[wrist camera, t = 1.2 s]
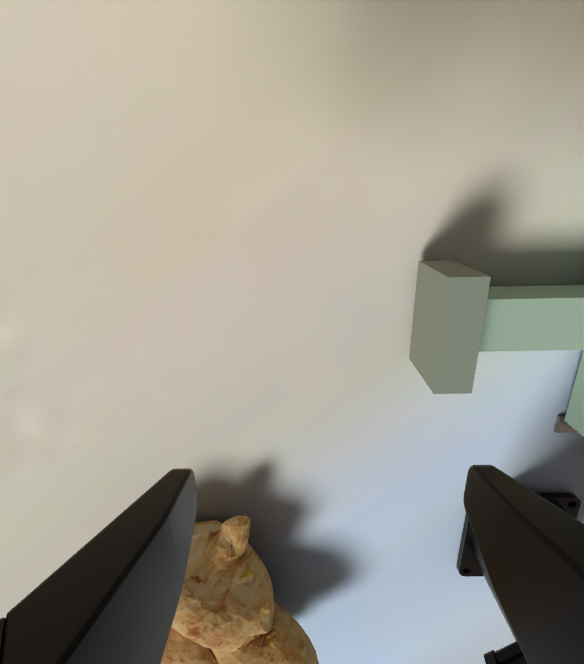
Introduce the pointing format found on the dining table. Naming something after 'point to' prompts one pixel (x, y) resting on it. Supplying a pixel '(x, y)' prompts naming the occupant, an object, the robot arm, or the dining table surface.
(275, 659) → the ginger root
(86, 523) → the dining table surface
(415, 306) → the cart
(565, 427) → the rails
